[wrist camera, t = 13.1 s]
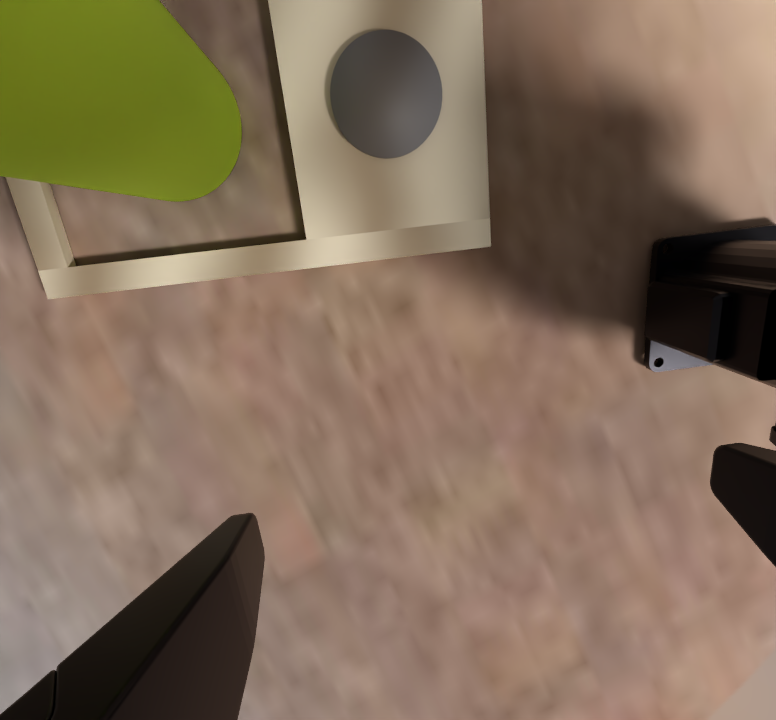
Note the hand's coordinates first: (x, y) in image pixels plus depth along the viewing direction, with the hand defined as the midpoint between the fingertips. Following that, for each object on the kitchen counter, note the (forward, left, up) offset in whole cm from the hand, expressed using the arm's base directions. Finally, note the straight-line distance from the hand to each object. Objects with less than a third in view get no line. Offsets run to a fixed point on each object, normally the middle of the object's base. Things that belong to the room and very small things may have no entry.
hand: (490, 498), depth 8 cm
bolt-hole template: (+6, -10, -13) cm, 17 cm away
